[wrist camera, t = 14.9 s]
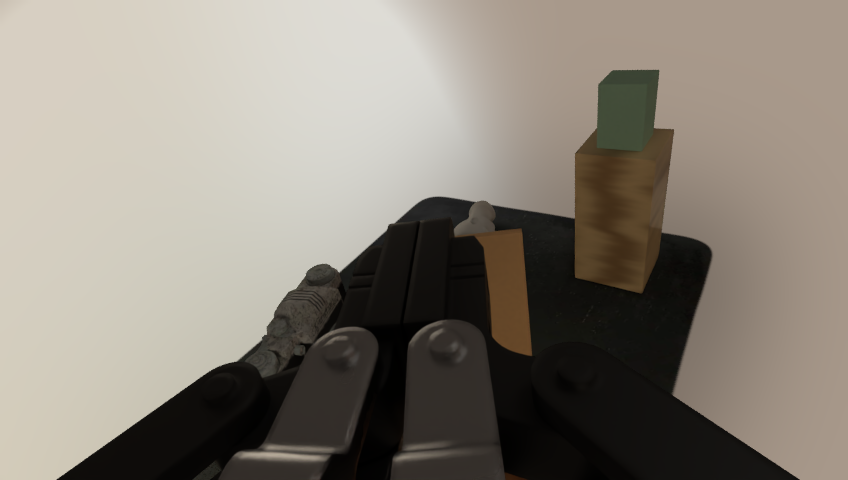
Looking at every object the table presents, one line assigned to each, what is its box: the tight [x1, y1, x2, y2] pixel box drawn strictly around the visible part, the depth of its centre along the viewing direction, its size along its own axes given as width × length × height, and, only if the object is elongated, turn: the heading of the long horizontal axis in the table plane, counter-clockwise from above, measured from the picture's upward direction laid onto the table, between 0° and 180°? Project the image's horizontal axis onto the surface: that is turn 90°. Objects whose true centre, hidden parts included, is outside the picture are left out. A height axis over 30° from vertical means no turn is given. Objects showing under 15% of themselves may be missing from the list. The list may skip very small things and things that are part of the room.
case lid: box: [455, 229, 532, 356], centre depth 34 cm, size 11×7×1 cm
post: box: [575, 128, 674, 293], centre depth 48 cm, size 7×7×15 cm
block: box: [597, 70, 659, 152], centre depth 42 cm, size 4×4×6 cm
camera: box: [245, 264, 346, 378], centre depth 43 cm, size 15×7×10 cm, turn 163°
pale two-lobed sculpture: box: [454, 201, 495, 236], centre depth 60 cm, size 4×8×5 cm
